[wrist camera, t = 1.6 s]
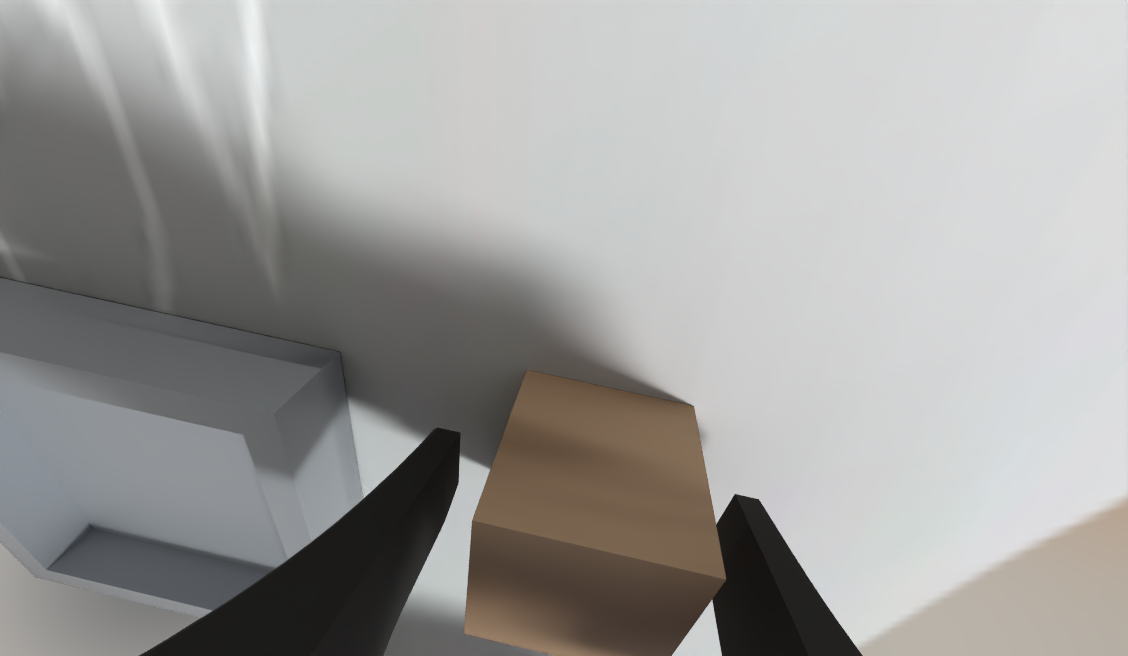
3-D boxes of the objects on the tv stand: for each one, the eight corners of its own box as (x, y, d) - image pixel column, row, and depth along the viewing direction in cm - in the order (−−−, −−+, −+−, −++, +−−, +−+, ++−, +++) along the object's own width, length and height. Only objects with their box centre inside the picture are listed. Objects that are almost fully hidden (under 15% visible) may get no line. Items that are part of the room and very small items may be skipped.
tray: (376, 586, 18) (343, 652, 16) (102, 521, 19) (35, 577, 17) (339, 352, 12) (274, 413, 9) (-93, 257, 12) (-247, 296, 10)
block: (648, 507, 13) (654, 679, 9) (511, 476, 13) (464, 633, 10) (693, 404, 11) (726, 579, 7) (527, 368, 11) (472, 520, 7)
